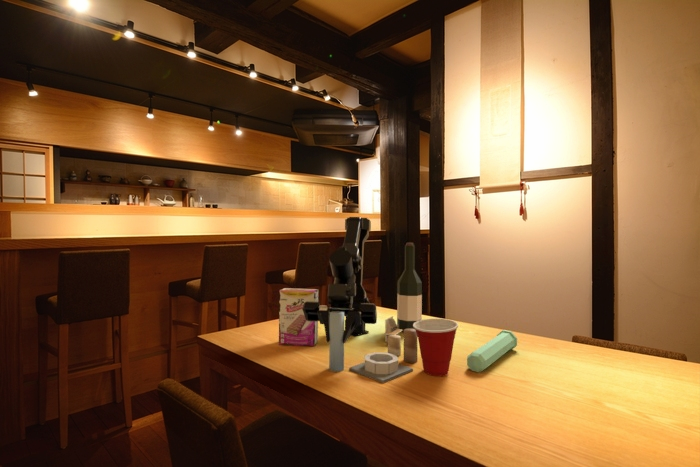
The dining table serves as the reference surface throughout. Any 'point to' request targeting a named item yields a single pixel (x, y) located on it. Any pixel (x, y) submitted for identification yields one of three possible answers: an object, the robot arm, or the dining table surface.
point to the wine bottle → (409, 292)
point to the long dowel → (336, 341)
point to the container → (491, 351)
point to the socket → (381, 367)
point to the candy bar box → (296, 317)
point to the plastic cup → (436, 344)
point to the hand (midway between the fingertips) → (335, 342)
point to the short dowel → (394, 345)
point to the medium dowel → (410, 345)
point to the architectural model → (391, 328)
